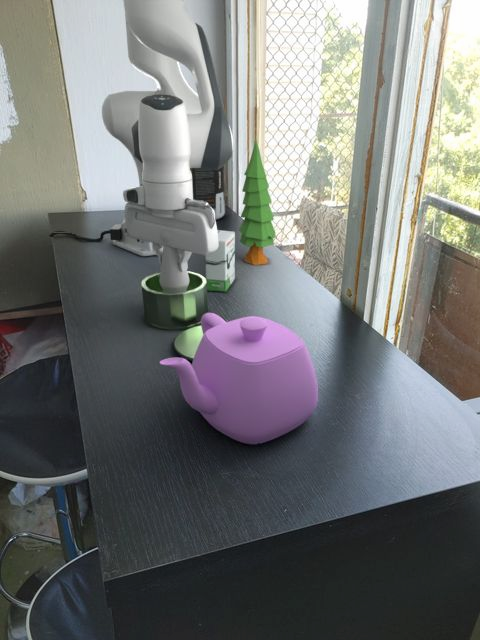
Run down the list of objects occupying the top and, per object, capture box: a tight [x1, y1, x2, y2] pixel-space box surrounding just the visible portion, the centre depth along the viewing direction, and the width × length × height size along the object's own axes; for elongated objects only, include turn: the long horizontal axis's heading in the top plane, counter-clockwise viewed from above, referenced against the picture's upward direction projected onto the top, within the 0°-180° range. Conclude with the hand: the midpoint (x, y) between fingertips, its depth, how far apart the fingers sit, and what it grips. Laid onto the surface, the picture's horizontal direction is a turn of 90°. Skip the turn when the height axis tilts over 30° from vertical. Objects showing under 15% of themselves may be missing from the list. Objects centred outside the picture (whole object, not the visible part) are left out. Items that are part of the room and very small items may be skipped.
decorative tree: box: [238, 137, 277, 266], centre depth 129 cm, size 10×9×30 cm
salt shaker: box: [159, 231, 190, 293], centre depth 101 cm, size 6×6×13 cm
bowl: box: [141, 270, 209, 331], centre depth 105 cm, size 13×13×8 cm
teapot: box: [159, 312, 319, 445], centre depth 74 cm, size 23×21×15 cm
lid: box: [174, 325, 203, 362], centre depth 94 cm, size 14×14×5 cm
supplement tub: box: [190, 165, 226, 221], centre depth 168 cm, size 16×16×26 cm
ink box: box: [204, 229, 236, 293], centre depth 119 cm, size 9×5×12 cm, turn 168°
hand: (173, 267), depth 101 cm, fingers closed on salt shaker, 3 cm apart
